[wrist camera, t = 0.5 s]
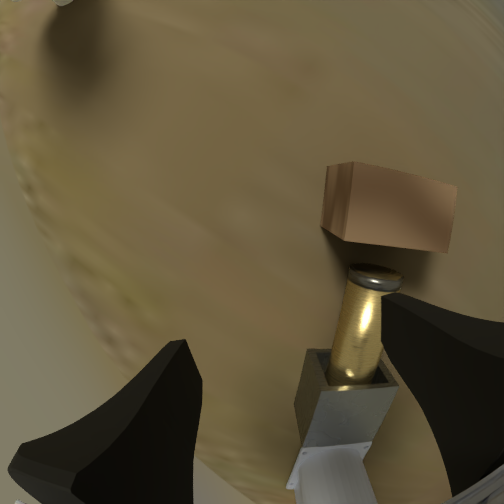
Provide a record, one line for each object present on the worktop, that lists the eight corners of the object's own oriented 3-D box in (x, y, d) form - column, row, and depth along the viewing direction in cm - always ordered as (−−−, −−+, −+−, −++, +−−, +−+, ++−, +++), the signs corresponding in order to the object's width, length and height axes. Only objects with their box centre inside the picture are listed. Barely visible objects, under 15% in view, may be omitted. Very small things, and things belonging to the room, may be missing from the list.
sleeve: (354, 402, 23) (371, 441, 18) (293, 404, 23) (302, 447, 18) (373, 348, 21) (399, 386, 16) (307, 348, 21) (321, 391, 16)
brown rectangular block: (407, 237, 19) (447, 253, 14) (320, 225, 19) (344, 240, 14) (415, 183, 18) (457, 186, 13) (327, 166, 18) (353, 161, 13)
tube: (347, 405, 22) (358, 434, 18) (308, 407, 22) (315, 437, 18) (388, 265, 19) (413, 282, 15) (342, 261, 19) (361, 278, 15)
